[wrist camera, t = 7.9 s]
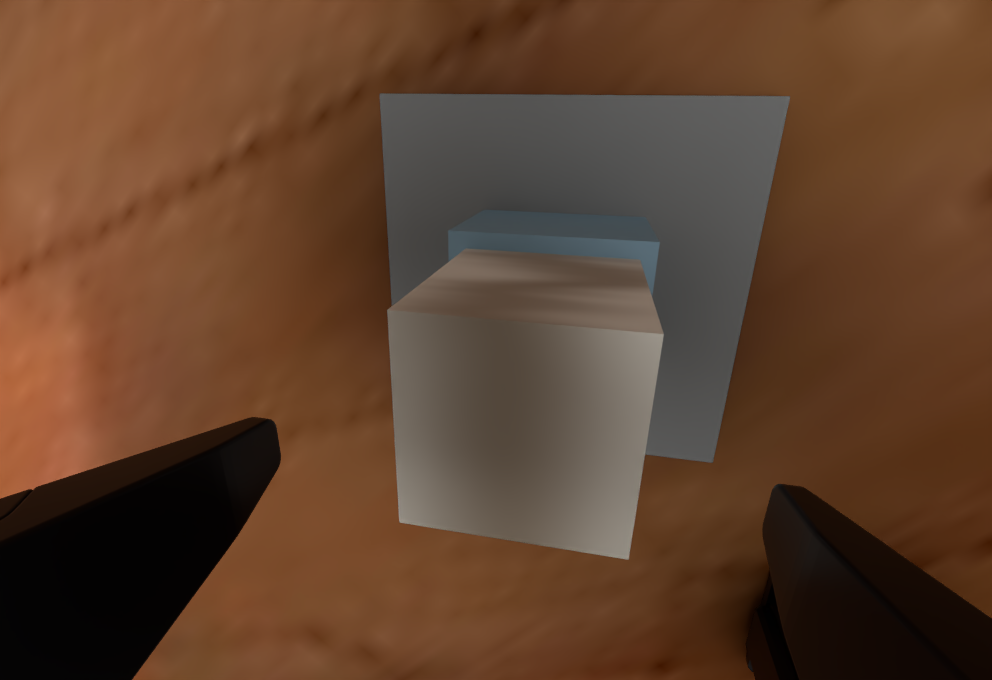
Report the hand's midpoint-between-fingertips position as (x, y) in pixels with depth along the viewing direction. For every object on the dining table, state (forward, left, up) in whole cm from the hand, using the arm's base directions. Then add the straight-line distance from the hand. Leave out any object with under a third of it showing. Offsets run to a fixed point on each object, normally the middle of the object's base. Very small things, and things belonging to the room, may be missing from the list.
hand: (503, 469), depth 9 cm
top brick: (0, 0, -7) cm, 7 cm away
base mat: (0, 0, -13) cm, 13 cm away
